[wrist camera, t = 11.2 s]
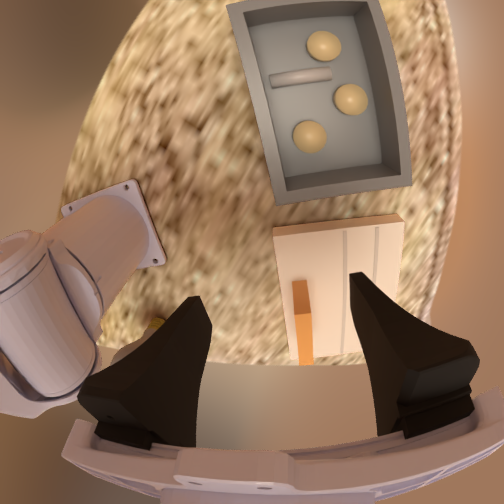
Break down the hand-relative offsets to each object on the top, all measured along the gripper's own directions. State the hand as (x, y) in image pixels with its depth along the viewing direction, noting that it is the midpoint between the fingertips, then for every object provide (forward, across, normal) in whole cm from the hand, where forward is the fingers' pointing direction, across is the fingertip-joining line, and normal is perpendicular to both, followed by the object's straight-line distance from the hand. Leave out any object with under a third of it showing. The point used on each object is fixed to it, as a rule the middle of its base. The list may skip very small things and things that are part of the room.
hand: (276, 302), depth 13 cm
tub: (+10, -5, -9) cm, 14 cm away
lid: (+10, -4, +8) cm, 14 cm away
